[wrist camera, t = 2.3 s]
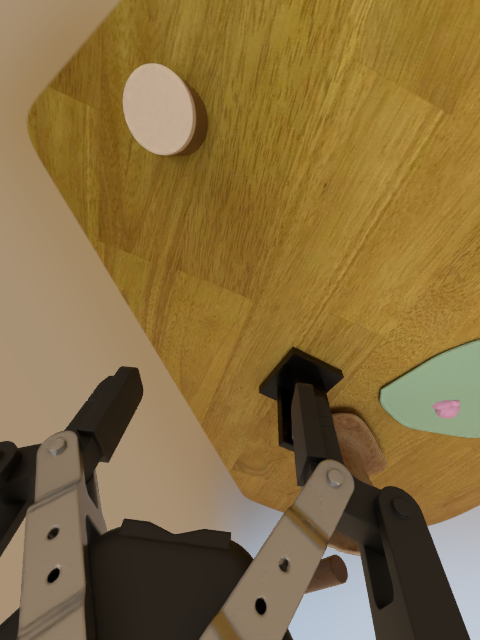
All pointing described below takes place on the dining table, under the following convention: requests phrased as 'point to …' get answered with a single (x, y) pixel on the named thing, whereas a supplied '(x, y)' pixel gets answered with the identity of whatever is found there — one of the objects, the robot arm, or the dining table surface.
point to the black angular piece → (284, 381)
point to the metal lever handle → (327, 572)
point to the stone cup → (355, 464)
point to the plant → (439, 394)
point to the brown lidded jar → (164, 111)
